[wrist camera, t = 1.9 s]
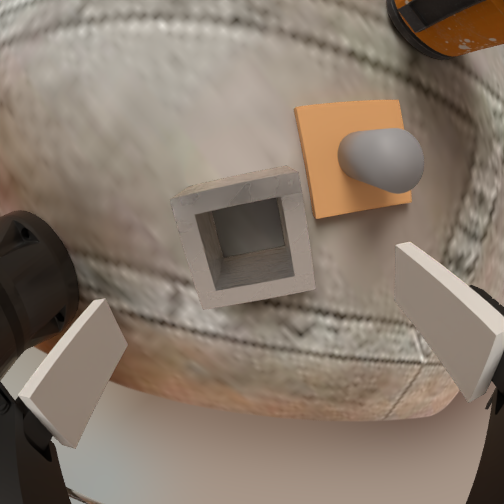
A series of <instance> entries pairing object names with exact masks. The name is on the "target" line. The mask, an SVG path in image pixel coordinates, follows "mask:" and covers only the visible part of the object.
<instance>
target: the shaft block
mask: <svg viewBox="0 0 504 504" xmlns="http://www.w3.org/2000/svg"><path fill="white" fill-rule="evenodd" d="M294 113H295V117H296V122H297V127H298V132H299V137H300V142H301V147H302V152H303V158H304V163H305V169H306V174H307V180H308V186H309V192H310V198H311V205H312V211H313V216H314V217H315V218H316V219H319V218H324V217H329V216H335V215H340V214H346V213H352V212H357V211H363V210H369V209H374V208H380V207H386V206H392V205H398V204H404V203H410V202H412V199H411V189H413V188H414V187H415V186H416V185H417V184H418V182H419V181H420V179H421V177H422V174H423V170H424V155H423V151H422V148H421V146H420V144H419V142H418V141H417V140H416V138H415V137H414V136H413V135H412V134H410V133H409V132H407V131H405V130H404V126H403V120H402V115H401V110H400V104H399V100H368V101H350V102H337V103H326V104H316V105H308V106H300V107H295V108H294Z"/></svg>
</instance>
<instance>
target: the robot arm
mask: <svg viewBox="0 0 504 504" xmlns="http://www.w3.org/2000/svg"><path fill="white" fill-rule="evenodd" d="M78 300H79V292H78V283H77V278H76V274H75V271H74V268H73V265H72V262H71V260H70V257H69V255H68V253H67V251H66V249H65V247H64V245H63V244H62V242H61V241H60V239H59V238H58V236H57V235H56V233H55V232H54V231H53V230H52V229H51V227H50V226H49V225H48V224H47V223H45V222H44V221H43V220H42V219H41V218H39V217H38V216H36V215H34V214H32V213H30V212H27V211H14V212H11V213H9V214H6V215H4V216H2V217H0V381H1V379H2V378H3V377H4V375H5V374H6V373H7V372H8V370H9V369H10V368H11V366H12V365H13V364H14V363H15V361H16V360H17V359H18V357H19V356H20V355H21V354H22V353H23V352H24V351H25V350H26V349H28V348H30V347H33V346H35V345H37V344H39V343H41V342H43V341H45V340H47V339H49V338H51V337H54V336H56V335H57V334H59V333H60V332H61V331H63V330H64V328H65V327H66V326H67V325H68V324H69V323H70V321H71V320H72V319H73V317H74V316H75V314H76V311H77V307H78ZM394 300H395V302H396V303H397V304H398V305H399V307H400V308H401V309H402V310H403V312H404V313H405V314H406V316H407V317H408V318H409V319H410V321H411V322H412V323H413V325H414V326H415V327H416V328H417V330H418V331H419V332H420V334H421V335H422V336H423V338H424V339H425V341H426V342H427V343H428V345H429V346H430V347H431V349H432V350H433V351H434V353H435V354H436V356H437V357H438V358H439V360H440V361H441V363H442V364H443V366H444V367H445V368H446V370H447V371H448V373H449V374H450V376H451V377H452V379H453V380H454V382H455V383H456V385H457V386H458V388H459V389H460V391H461V392H462V394H463V395H464V397H465V398H466V400H467V402H468V403H469V402H471V401H473V400H475V399H476V398H478V397H480V396H482V395H484V394H485V393H486V391H487V389H488V387H489V385H490V383H491V381H492V382H493V383H494V384H495V386H496V388H495V390H494V392H493V394H492V396H491V398H490V400H489V401H488V403H487V405H486V408H485V409H488V408H489V406H490V405H491V403H492V407H491V413H490V419H489V425H488V430H487V435H486V440H485V444H484V448H483V452H482V456H481V460H480V464H479V467H478V470H477V474H476V477H475V480H474V483H473V486H472V489H471V491H470V494H469V497H468V500H467V502H466V504H504V307H503V306H502V305H501V304H500V305H499V303H498V302H497V301H496V300H495V299H492V297H491V296H490V295H489V294H488V293H486V292H485V291H484V290H482V289H480V288H478V287H475V286H473V285H470V286H468V285H467V284H465V283H464V282H463V281H462V280H461V279H459V278H458V277H457V276H455V275H454V274H453V273H452V272H450V271H449V270H448V269H447V268H445V267H444V266H443V265H441V264H440V263H439V262H437V261H436V260H435V259H433V258H432V257H431V256H429V255H428V254H427V253H425V252H424V251H422V250H421V249H420V248H418V247H417V246H415V245H414V244H413V243H411V242H406V243H401V244H397V245H395V297H394ZM127 346H128V344H127V342H126V340H125V338H124V336H123V334H122V332H121V330H120V328H119V326H118V324H117V322H116V320H115V318H114V315H113V313H112V311H111V309H110V307H109V305H108V302H107V300H106V298H105V299H98V300H94V301H93V302H92V303H91V304H90V305H89V306H88V307H87V308H86V310H85V311H84V312H83V313H82V314H81V315H80V316H79V318H78V319H77V320H76V321H75V322H74V323H73V325H72V326H71V327H70V328H69V329H68V331H67V332H66V333H65V334H64V335H63V337H62V338H61V339H60V340H59V341H58V343H57V344H56V345H55V346H54V348H53V349H52V350H51V351H50V353H49V354H48V355H47V356H46V358H45V359H44V360H43V362H42V363H41V364H40V365H39V367H38V368H37V369H36V371H35V372H34V373H33V375H32V376H31V377H30V379H29V380H28V382H27V383H26V384H25V386H24V387H23V388H22V390H21V391H20V393H19V394H18V398H17V399H16V400H14V399H13V398H12V396H11V395H10V394H9V392H8V391H7V390H6V388H5V387H4V386H3V384H2V383H1V382H0V504H71V502H70V499H69V496H68V492H67V489H66V486H65V483H64V479H63V476H62V472H61V468H60V464H59V460H58V456H57V451H56V447H55V445H54V443H52V441H51V438H52V436H54V437H55V438H56V439H57V440H58V441H59V442H60V443H61V444H62V445H64V446H68V447H72V448H75V449H76V447H77V445H78V442H79V440H80V438H81V436H82V434H83V431H84V429H85V427H86V425H87V423H88V421H89V419H90V417H91V414H92V413H93V411H94V408H95V407H96V404H97V402H98V401H99V399H100V397H101V394H102V392H103V390H104V389H105V387H106V385H107V383H108V381H109V379H110V377H111V375H112V373H113V371H114V370H115V368H116V366H117V364H118V362H119V360H120V358H121V357H122V355H123V353H124V351H125V349H126V347H127Z"/></svg>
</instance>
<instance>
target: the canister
mask: <svg viewBox="0 0 504 504" xmlns="http://www.w3.org/2000/svg"><path fill="white" fill-rule="evenodd" d="M386 5H387V10H388V13H389V15H390V18H391V20H392V22H393V23H394V25H395V26H396V28H397V29H398V31H399V32H400V33H401V34H402V36H403V37H404V38H405V39H406V40H407V41H408V42H409V43H410V44H411V45H413V46H414V47H415V48H416V49H418V50H419V51H420V52H422V53H424V54H426V55H428V56H430V57H432V58H436V59H441V60H445V59H450V58H453V57H456V56H459V55H463V54H466V53H470V52H473V51H477V50H481V49H485V48H489V47H493V46H497V45H501V44H504V0H386Z"/></svg>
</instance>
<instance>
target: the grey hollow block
mask: <svg viewBox="0 0 504 504" xmlns="http://www.w3.org/2000/svg"><path fill="white" fill-rule="evenodd" d="M271 198H276V200H277V205H278V210H279V216H280V221H281V227H282V232H283V238H284V243H285V246H282V247H277V248H272V249H266V250H261V251H256V252H251V253H246V254H241V255H235V256H230V257H225V258H223V254H222V250H221V246H220V242H219V238H218V234H217V230H216V226H215V222H214V218H213V214H212V211H213V210H217V209H222V208H226V207H231V206H236V205H241V204H245V203H250V202H255V201H260V200H265V199H271ZM170 202H171V206H172V210H173V214H174V217H175V221H176V224H177V228H178V231H179V235H180V238H181V242H182V245H183V249H184V252H185V255H186V259H187V262H188V265H189V268H190V272H191V275H192V278H193V281H194V284H195V287H196V290H197V293H198V296H199V299H200V302H201V305H202V308H203V310H204V309H211V308H217V307H223V306H229V305H235V304H241V303H247V302H252V301H258V300H263V299H269V298H274V297H280V296H285V295H290V294H295V293H300V292H305V291H310V290H315V289H316V287H315V279H314V270H313V263H312V255H311V248H310V241H309V234H308V227H307V220H306V214H305V208H304V202H303V196H302V190H301V184H300V178H299V173H298V171H296V170H294V169H292V168H290V167H288V166H281V167H276V168H270V169H265V170H260V171H255V172H250V173H245V174H240V175H236V176H231V177H226V178H222V179H217V180H213V181H209V182H205V183H200V184H196V185H192V186H189V187H188V188H186V189H184V190H183V191H181V192H180V193H178V194H177V195H175V196H174V197H172V198H171V199H170Z"/></svg>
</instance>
